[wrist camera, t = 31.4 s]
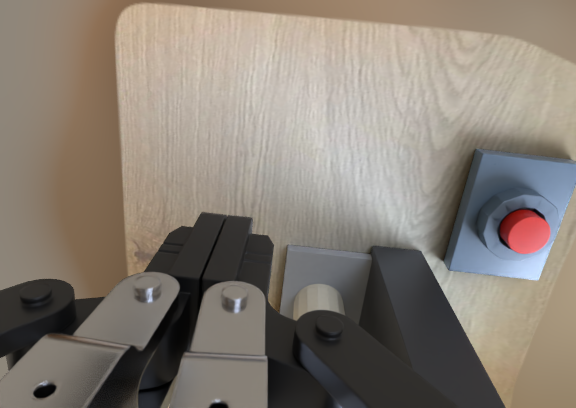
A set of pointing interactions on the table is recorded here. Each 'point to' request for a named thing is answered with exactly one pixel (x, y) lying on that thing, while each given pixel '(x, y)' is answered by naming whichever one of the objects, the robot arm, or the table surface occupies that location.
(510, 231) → the button
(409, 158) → the table surface
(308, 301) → the container
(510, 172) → the pad
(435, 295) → the coffee maker
